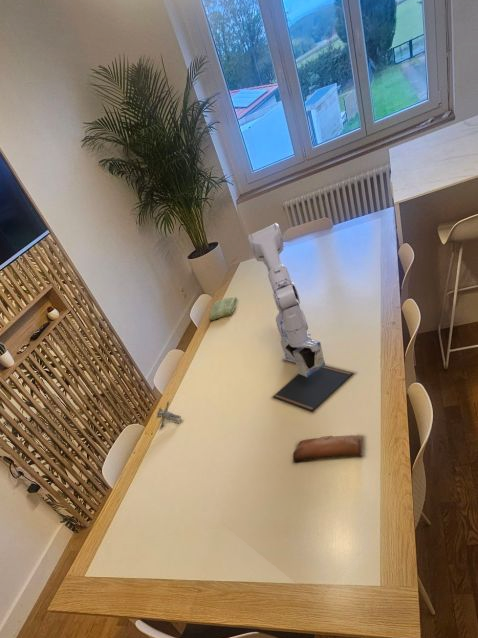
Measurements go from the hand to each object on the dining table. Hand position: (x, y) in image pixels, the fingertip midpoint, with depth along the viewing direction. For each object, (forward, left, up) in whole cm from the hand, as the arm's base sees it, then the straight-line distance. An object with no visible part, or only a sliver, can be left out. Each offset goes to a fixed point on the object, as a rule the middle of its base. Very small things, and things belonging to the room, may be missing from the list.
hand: (306, 364), depth 130 cm
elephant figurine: (-38, -36, -9) cm, 53 cm away
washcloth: (-87, +30, -9) cm, 92 cm away
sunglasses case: (+24, -21, -9) cm, 33 cm away
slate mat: (0, 0, -8) cm, 8 cm away
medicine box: (0, +1, -3) cm, 4 cm away
